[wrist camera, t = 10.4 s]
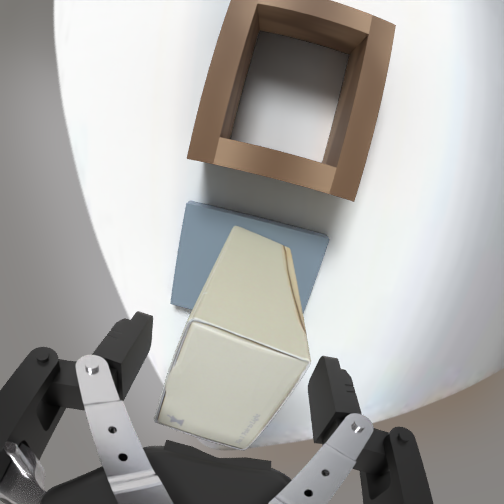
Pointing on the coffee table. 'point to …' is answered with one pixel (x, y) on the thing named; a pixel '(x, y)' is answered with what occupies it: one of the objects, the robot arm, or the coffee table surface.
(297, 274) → the pad
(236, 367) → the skincare box
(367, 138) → the pocket block
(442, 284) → the coffee table surface
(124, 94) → the coffee table surface
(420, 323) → the coffee table surface
